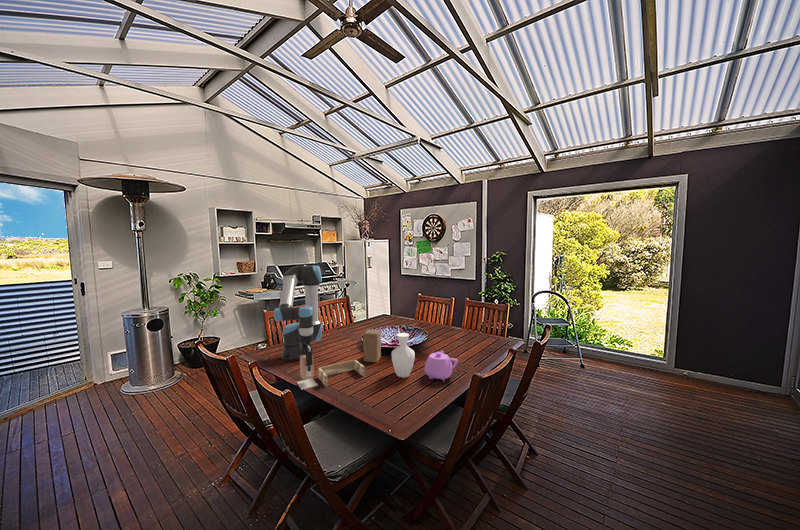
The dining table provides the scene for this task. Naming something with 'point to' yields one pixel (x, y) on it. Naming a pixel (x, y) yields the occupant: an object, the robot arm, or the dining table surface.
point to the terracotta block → (303, 367)
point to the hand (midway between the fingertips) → (307, 373)
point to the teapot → (439, 365)
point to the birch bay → (339, 370)
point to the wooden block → (372, 345)
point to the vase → (403, 356)
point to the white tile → (307, 383)
